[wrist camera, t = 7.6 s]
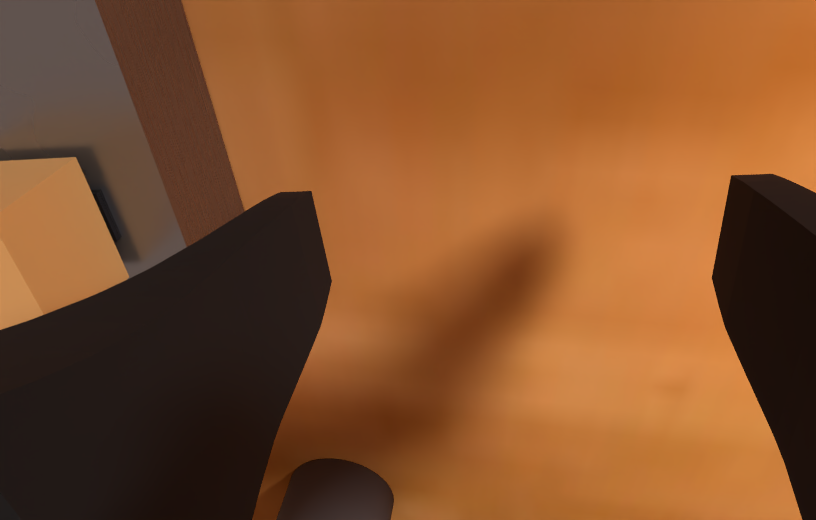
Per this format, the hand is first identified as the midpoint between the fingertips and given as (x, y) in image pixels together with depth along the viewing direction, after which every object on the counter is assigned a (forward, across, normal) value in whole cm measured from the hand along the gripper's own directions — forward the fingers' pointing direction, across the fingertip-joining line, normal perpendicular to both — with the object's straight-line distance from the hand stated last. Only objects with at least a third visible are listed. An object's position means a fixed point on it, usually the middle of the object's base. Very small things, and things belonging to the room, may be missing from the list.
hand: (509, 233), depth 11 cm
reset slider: (+1, +10, 0) cm, 10 cm away
